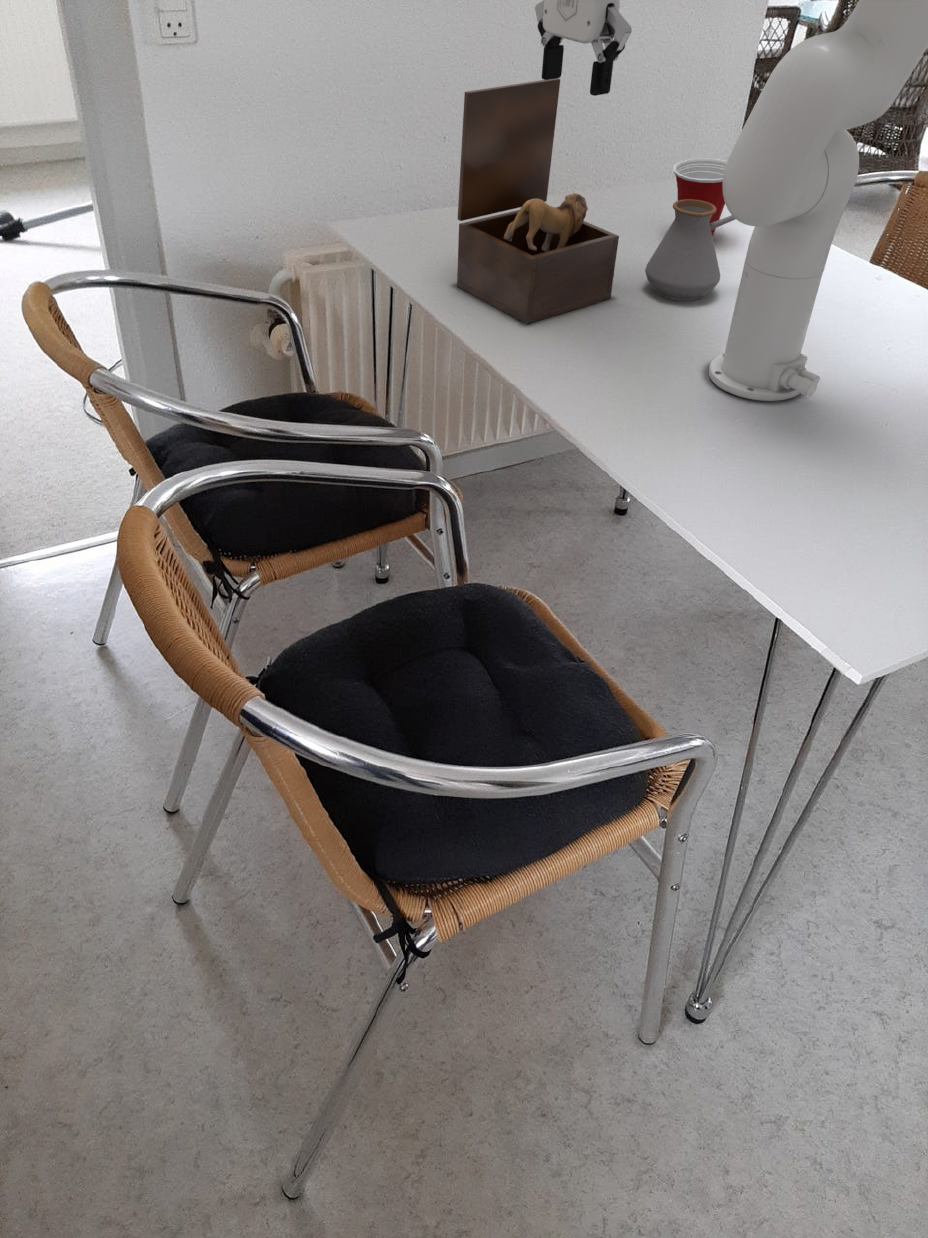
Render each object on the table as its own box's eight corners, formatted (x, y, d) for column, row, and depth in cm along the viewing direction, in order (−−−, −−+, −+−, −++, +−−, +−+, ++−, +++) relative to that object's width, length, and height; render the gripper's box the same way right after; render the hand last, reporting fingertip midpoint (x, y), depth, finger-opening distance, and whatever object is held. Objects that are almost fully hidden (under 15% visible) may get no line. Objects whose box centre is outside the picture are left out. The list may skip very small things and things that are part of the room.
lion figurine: (551, 250, 155) (573, 191, 151) (577, 262, 152) (600, 201, 148) (493, 236, 144) (514, 171, 140) (519, 249, 141) (542, 183, 137)
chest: (610, 298, 153) (619, 235, 147) (526, 324, 145) (531, 258, 139) (539, 263, 163) (544, 203, 157) (456, 286, 154) (458, 223, 148)
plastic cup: (649, 231, 176) (661, 159, 168) (700, 224, 180) (713, 153, 172) (685, 253, 169) (698, 178, 161) (737, 245, 172) (752, 172, 165)
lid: (560, 78, 144) (538, 70, 147) (468, 92, 136) (445, 83, 139) (546, 201, 156) (526, 191, 159) (460, 221, 148) (440, 210, 151)
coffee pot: (653, 306, 151) (671, 204, 142) (633, 276, 160) (648, 178, 150) (788, 304, 154) (814, 203, 144) (761, 275, 163) (784, 178, 153)
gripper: (522, -73, 129) (513, 75, 140) (617, -54, 119) (599, 103, 130) (565, -75, 133) (553, 69, 144) (660, -57, 123) (639, 96, 134)
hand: (574, 85), depth 137 cm, fingers open, 9 cm apart
